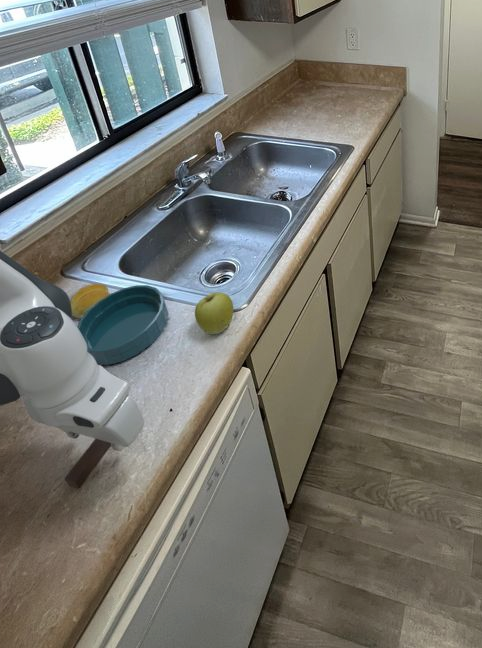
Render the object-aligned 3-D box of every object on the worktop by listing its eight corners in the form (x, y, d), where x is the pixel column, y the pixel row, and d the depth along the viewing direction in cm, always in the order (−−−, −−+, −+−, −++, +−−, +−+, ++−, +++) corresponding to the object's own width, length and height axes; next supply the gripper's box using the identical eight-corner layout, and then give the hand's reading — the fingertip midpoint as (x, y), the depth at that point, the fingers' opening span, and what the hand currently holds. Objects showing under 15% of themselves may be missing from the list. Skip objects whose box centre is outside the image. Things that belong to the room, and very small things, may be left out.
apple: (239, 330, 99) (217, 303, 94) (206, 345, 98) (181, 319, 94) (242, 302, 106) (221, 276, 101) (211, 316, 105) (188, 290, 101)
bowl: (71, 377, 91) (62, 361, 89) (96, 310, 106) (89, 296, 104) (162, 352, 96) (156, 337, 94) (173, 292, 110) (168, 277, 108)
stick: (82, 493, 73) (75, 482, 71) (71, 489, 73) (64, 478, 72) (132, 423, 83) (127, 412, 81) (123, 421, 83) (117, 409, 82)
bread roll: (105, 284, 113) (101, 273, 111) (114, 305, 107) (109, 293, 105) (67, 303, 108) (62, 291, 106) (75, 326, 102) (69, 314, 100)
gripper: (-1, 397, 70) (34, 445, 76) (105, 426, 65) (133, 475, 71) (37, 360, 75) (67, 408, 81) (137, 384, 71) (160, 433, 77)
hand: (98, 439), depth 76 cm, fingers open, 8 cm apart
